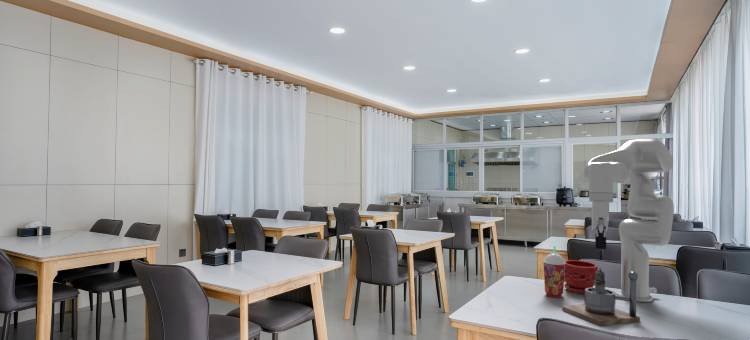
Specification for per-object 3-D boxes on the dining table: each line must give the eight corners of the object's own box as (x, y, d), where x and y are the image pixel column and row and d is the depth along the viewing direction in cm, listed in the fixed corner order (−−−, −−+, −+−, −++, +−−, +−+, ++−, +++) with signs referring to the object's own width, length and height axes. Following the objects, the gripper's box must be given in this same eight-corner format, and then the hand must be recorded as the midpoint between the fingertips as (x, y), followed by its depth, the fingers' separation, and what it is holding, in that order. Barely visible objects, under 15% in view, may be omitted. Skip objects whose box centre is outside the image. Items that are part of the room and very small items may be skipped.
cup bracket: (599, 306, 161) (599, 262, 161) (640, 321, 145) (640, 272, 145) (562, 310, 156) (562, 264, 156) (600, 326, 140) (600, 274, 140)
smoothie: (566, 295, 176) (567, 246, 176) (563, 299, 169) (563, 248, 169) (545, 291, 180) (545, 244, 181) (540, 296, 173) (541, 246, 174)
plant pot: (559, 291, 181) (559, 263, 181) (567, 285, 192) (567, 258, 192) (593, 297, 173) (594, 267, 173) (600, 290, 184) (600, 262, 184)
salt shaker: (593, 304, 148) (593, 269, 148) (588, 299, 154) (588, 265, 154) (612, 305, 147) (612, 270, 147) (606, 300, 153) (606, 266, 153)
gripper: (589, 196, 160) (588, 242, 160) (588, 198, 145) (588, 249, 145) (612, 197, 157) (611, 244, 157) (614, 199, 141) (613, 251, 141)
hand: (600, 246), depth 151 cm, fingers open, 9 cm apart
